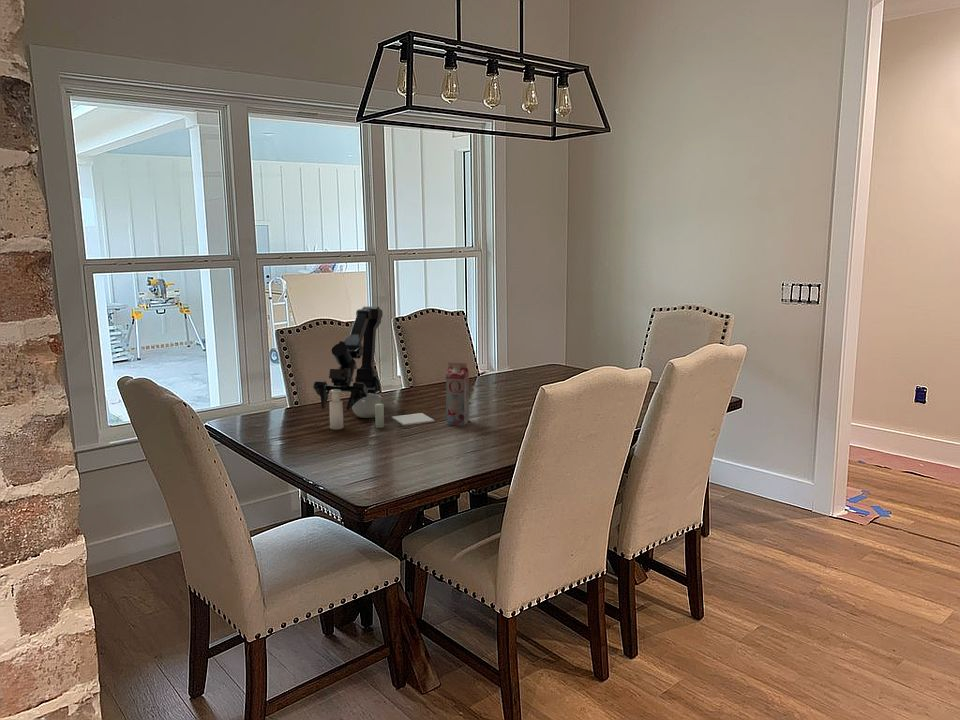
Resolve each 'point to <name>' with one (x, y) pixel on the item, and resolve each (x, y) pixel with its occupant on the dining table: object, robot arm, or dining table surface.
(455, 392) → the juice carton
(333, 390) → the vase
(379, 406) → the post
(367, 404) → the teacup
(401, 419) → the mat
